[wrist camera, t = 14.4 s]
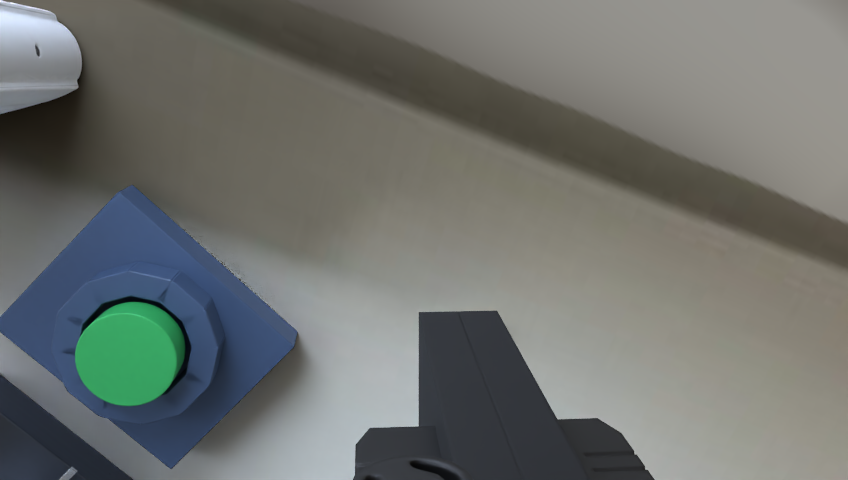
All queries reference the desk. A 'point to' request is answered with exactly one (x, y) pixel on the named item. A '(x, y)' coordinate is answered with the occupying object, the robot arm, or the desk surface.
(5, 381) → the dial panel
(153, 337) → the button
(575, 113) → the desk surface
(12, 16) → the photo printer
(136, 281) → the block
